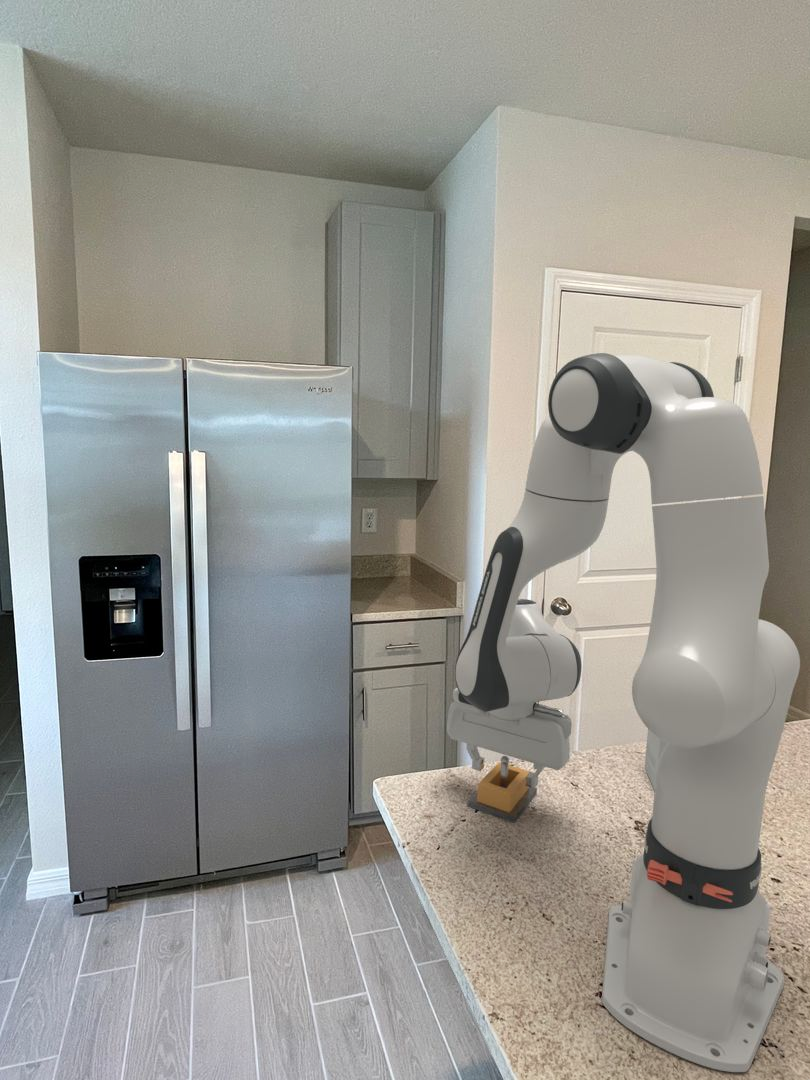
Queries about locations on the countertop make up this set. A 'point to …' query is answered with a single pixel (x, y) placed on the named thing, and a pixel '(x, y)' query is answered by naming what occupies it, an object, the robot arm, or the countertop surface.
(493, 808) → the keeper post
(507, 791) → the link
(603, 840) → the countertop surface
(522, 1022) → the countertop surface
